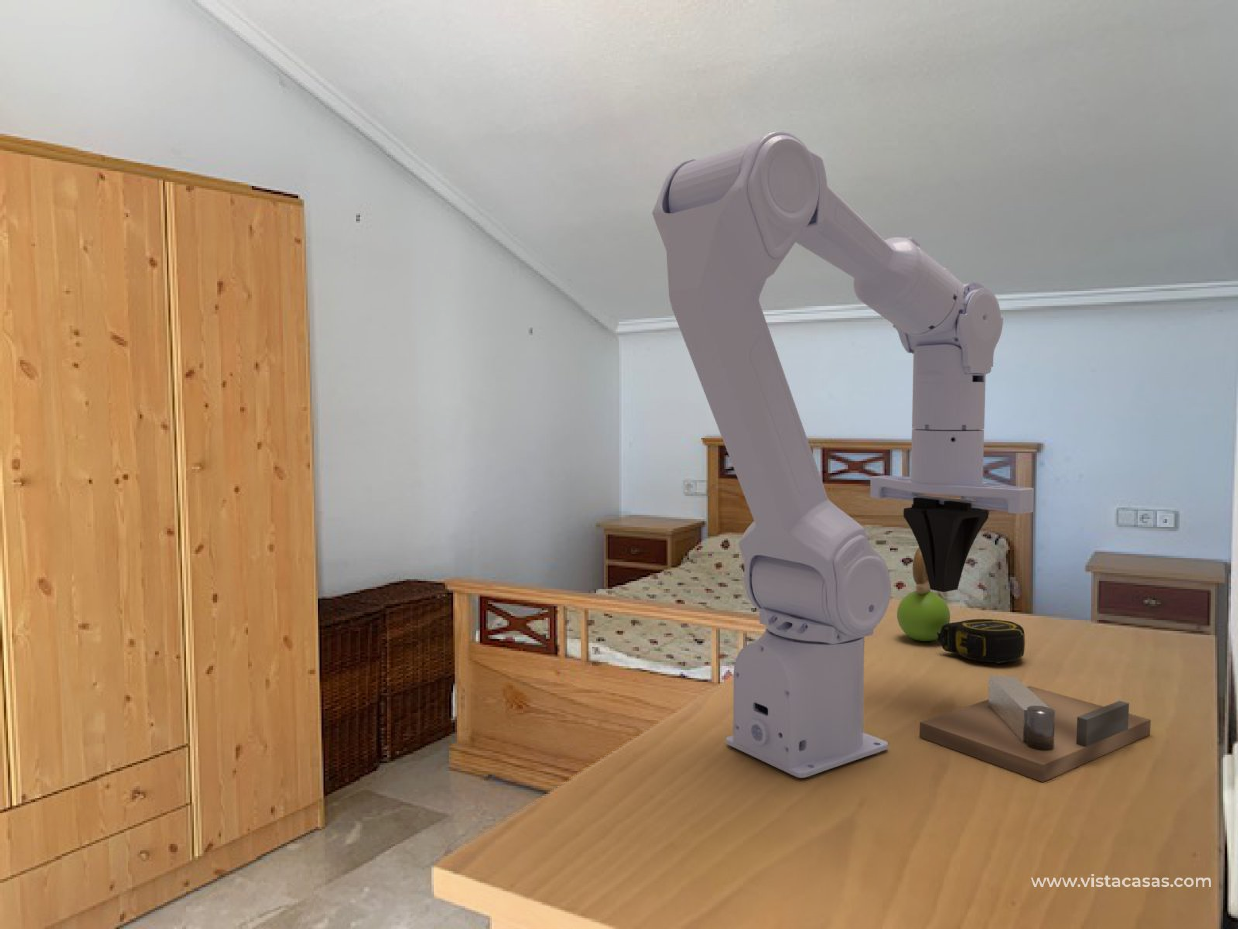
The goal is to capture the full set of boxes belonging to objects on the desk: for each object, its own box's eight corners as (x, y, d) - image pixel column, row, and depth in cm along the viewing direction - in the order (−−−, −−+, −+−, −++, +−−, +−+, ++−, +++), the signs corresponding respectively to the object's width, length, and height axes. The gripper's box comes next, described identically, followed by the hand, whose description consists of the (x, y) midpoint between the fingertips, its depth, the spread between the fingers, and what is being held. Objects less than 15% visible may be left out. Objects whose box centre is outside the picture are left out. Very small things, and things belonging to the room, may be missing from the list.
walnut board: (1042, 782, 61) (1044, 736, 61) (919, 737, 70) (920, 696, 69) (1150, 734, 70) (1151, 694, 70) (1028, 699, 78) (1030, 663, 78)
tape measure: (986, 647, 95) (987, 612, 95) (1040, 665, 89) (1041, 627, 88) (936, 655, 92) (936, 619, 92) (988, 673, 86) (989, 635, 86)
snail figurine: (956, 636, 99) (959, 527, 98) (943, 650, 93) (945, 535, 93) (906, 629, 102) (908, 524, 101) (890, 642, 96) (892, 531, 95)
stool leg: (1059, 750, 64) (1060, 714, 64) (1030, 749, 64) (1031, 714, 64) (1014, 705, 73) (1014, 674, 73) (988, 704, 73) (989, 673, 73)
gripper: (1057, 431, 72) (1051, 598, 73) (906, 426, 84) (903, 570, 85) (1006, 433, 68) (1001, 610, 69) (855, 428, 80) (853, 579, 81)
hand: (943, 589), depth 77 cm, fingers closed
